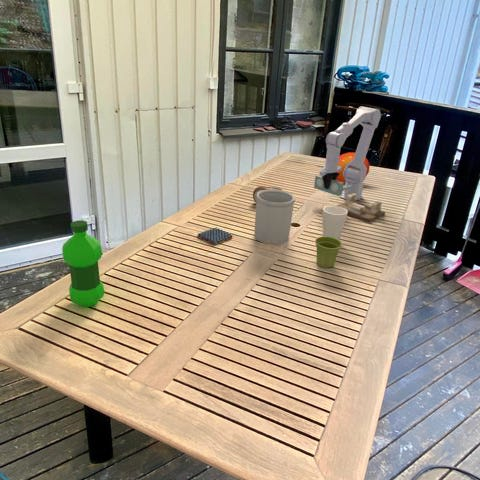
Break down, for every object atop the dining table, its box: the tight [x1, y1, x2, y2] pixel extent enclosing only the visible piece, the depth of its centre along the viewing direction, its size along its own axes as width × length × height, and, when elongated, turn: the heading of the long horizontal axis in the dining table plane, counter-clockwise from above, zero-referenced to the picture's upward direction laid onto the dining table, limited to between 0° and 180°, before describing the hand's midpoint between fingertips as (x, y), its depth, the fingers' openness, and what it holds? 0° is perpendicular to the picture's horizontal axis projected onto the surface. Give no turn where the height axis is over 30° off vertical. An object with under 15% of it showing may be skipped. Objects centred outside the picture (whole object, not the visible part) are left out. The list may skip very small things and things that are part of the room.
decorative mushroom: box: [336, 151, 370, 185], centre depth 244 cm, size 15×21×15 cm
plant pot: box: [314, 236, 343, 269], centre depth 156 cm, size 9×9×9 cm
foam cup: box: [322, 205, 348, 241], centre depth 173 cm, size 10×9×13 cm
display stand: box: [336, 193, 386, 223], centre depth 203 cm, size 14×19×6 cm
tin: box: [252, 185, 284, 203], centre depth 206 cm, size 15×3×8 cm, turn 84°
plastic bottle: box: [61, 220, 105, 308], centre depth 123 cm, size 10×10×25 cm
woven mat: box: [196, 226, 233, 246], centre depth 172 cm, size 10×11×2 cm
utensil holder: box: [254, 189, 296, 245], centre depth 172 cm, size 15×15×18 cm
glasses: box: [313, 174, 352, 197], centre depth 207 cm, size 10×14×6 cm
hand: (328, 188), depth 205 cm, fingers closed on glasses, 2 cm apart
